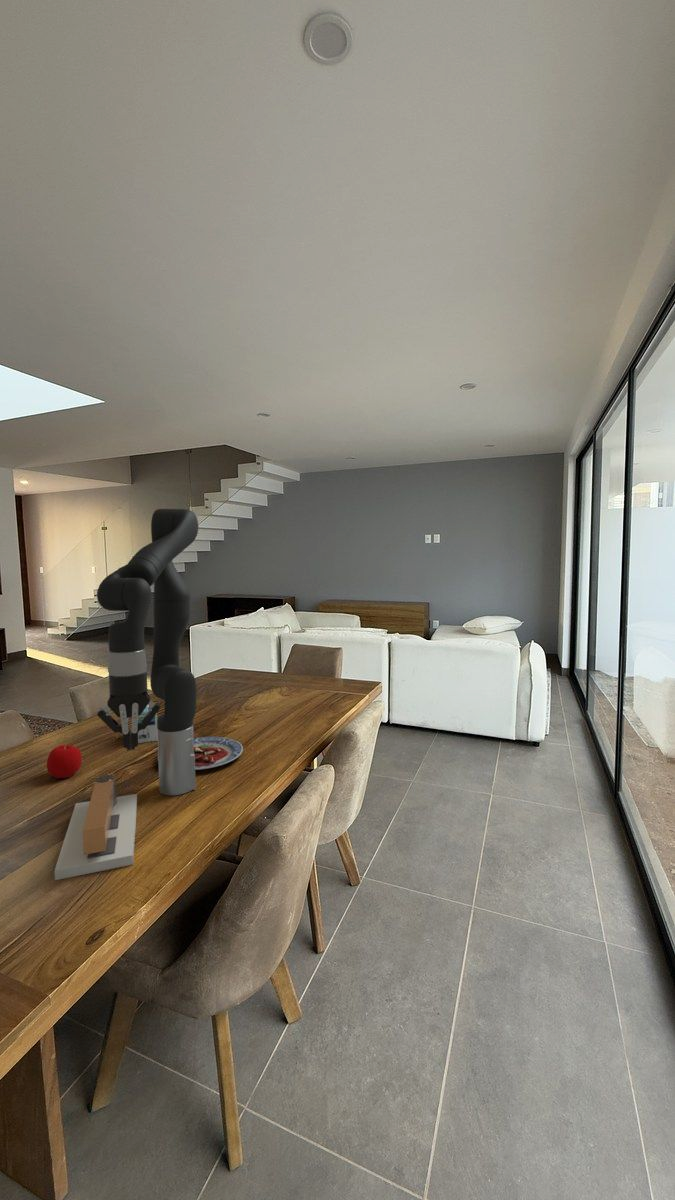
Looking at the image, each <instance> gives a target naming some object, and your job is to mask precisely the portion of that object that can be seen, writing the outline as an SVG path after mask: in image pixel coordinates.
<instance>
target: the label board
mask: <svg viewBox="0 0 675 1200" xmlns="http://www.w3.org/2000/svg"><path fill="white" fill-rule="evenodd" d="M89 804H90V801H82V802H76V803H75V805H74V808H73V811H72V814H71V818H70V820H69V824H68V828H67V829H66V834H65V837H64V840H63V842H62V847H61V850H60V853H59V856H58V859H57V862H56V865H55V868H54V881H59V880H63V879H68V878H73V877H74V878H75V877H78V876H83V875H87V874H93V873H97V872H98V873H99V872H103V871H109V870H113V869H118V868H122V867H127V866H132V865H134V856H135V855H134V854H135V843H136V842H135V840H136V839H135V838H136V826H137V814H138V813H137V812H138V811H137V810H138V794H137V793H135V794H134V793H133V794H127V795H121V796H116V795H115V798H114V804H113V810H112V816H111V822H110V828H109V834H108V840H107V846H106V851H101V852H96V853H91V854H85V855H84V851H83V827H84V823H85V819H86V816H87V812H88V808H89ZM134 842H135V843H134Z"/></svg>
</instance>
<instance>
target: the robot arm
mask: <svg viewBox="0 0 675 1200" xmlns="http://www.w3.org/2000/svg"><path fill="white" fill-rule="evenodd" d="M197 517H198V516H197V515H196V513H195V512H193V511H192V510H191V509H188V508H187V509H185V508H157V509H155V510H154V512H153V513H152V516H151V519H150V520H151V521H150V523H151V524H150V531H151V532H150V533H151V542H150V543H148V544H146V545H145V546H143V547H141V548H140V549H139V550H138V551H137V552H136V553H135V554H134V555H133V556H132V558H131V559H129V561H128V563H127V564H125V565H123V566H121V567H119V568H117V570H115V571H113V572H111V573H110V574H109V575H107V576H106V577H105V578H104V579H103V580H102V581H101V582H100V584H99V585H98V588H97V593H96V597H97V602H98V604H99V605H100V607H101V608H103V609H105V610H106V611H112V612H113V611H114V612H115V611H117V612H119V611H120V612H124V611H125V612H128V615H127V617H126V619H125V620H124V621H123V620H121V621H117V622H114V623H112V624H110V625H109V627H108V634H107V635H108V661H107V662H108V663H107V664H108V668H107V672H108V684H109V685H108V686H109V687H108V689H109V698H108V700H107V703H106V705H105V706H103V707H101V708H99V709H98V711H97V716H98V718H99V719H101V721H102V722H103V723H104V724H105V725H106V726H108V728H109V729H110V730H112V732H114V733H115V734H116V733H120V734H122V742H123V748H124V749H126V751H135V750H136V747H137V748H138V745H139V743H138V732H139V731H140V730H142V729H145V728H146V727H147V726H148V724H149V723H150V722H151V720H152V719H153V718H154V716H155V715H156V713H157V714H158V713H159V710H160V709H161V706H160V705H161V704H160V703H159V702H155V701H153V700H152V699H151V696H150V695H149V691H148V672H147V670H148V666H147V665H148V664H147V656H146V655H147V654H146V648H145V647H146V644H145V627H146V623H147V618H148V614H149V610H150V606H151V603H152V588H151V586H153V652H152V653H153V654H152V662H151V672H150V681H149V682H150V689H151V691H152V694H153V695H154V696H155V697H156V698H158V699H160V700H163V701H164V711H163V714H160V715H159V716H157V734H158V741H157V762H158V787H159V788H158V790H159V793H160V794H162V795H165V796H179V795H184V794H187V793H189V792H191V791H194V790H196V788H197V786H196V784H197V783H196V770H195V755H194V738H195V737H194V718H195V716H196V712H197V681H196V678H195V676H194V674H193V672H191V671H190V670H188V669H185V668H181V667H180V645H181V642H182V639H183V637H184V634H185V632H186V631H187V627H188V626H189V625H188V624H189V622H190V616H191V595H190V591H189V589H188V586H187V584H186V583H185V581H184V579H183V578H182V576H181V575H180V574H179V571H178V570H177V568H176V566H175V565H174V562H173V560H174V559H175V558H177V556H178V555H180V554H181V553H183V551H184V550H185V549H186V548H188V547H189V546H191V545H192V543H194V541H195V540H196V538H197V536H198V533H199V520H198V518H197ZM147 705H149V707H148V711H149V712H148V713H147V715H146V716H145V717H144V719H143V720H142V721H141V722H140V723H138V716H139V715H141V714H142V712H143V711H144V709H145V708H146V706H147ZM112 712H113V714H115V715H116V716H117V718H120V723H121V724H120V723H118V721H117V720H116V719H115V718H114V717H113V716H112V715H111V713H112ZM129 718H131V730H130V724H129Z"/></svg>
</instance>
